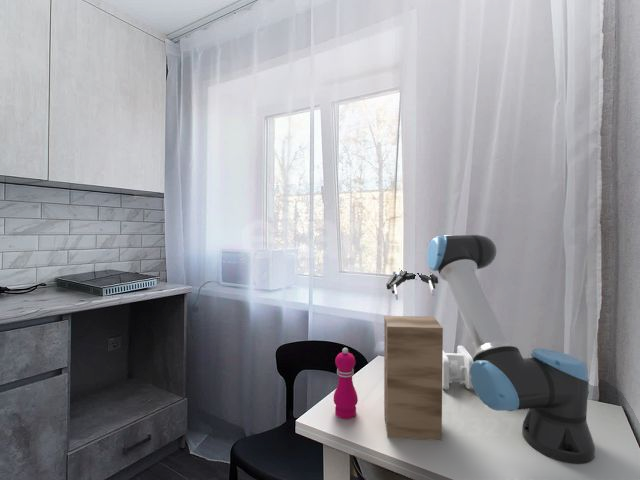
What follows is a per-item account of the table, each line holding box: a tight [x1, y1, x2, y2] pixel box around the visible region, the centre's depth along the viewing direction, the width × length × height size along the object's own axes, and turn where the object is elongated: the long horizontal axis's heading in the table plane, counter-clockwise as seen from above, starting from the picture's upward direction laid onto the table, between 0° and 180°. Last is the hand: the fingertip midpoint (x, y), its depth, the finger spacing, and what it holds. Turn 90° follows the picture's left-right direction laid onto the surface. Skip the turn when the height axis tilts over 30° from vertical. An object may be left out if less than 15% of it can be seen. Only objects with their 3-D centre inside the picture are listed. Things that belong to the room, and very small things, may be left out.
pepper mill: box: [333, 347, 359, 420], centre depth 99 cm, size 7×7×20 cm
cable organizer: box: [442, 345, 474, 390], centre depth 117 cm, size 15×11×12 cm
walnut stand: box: [383, 315, 444, 441], centre depth 92 cm, size 10×14×30 cm
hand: (414, 294), depth 127 cm, fingers open, 13 cm apart
